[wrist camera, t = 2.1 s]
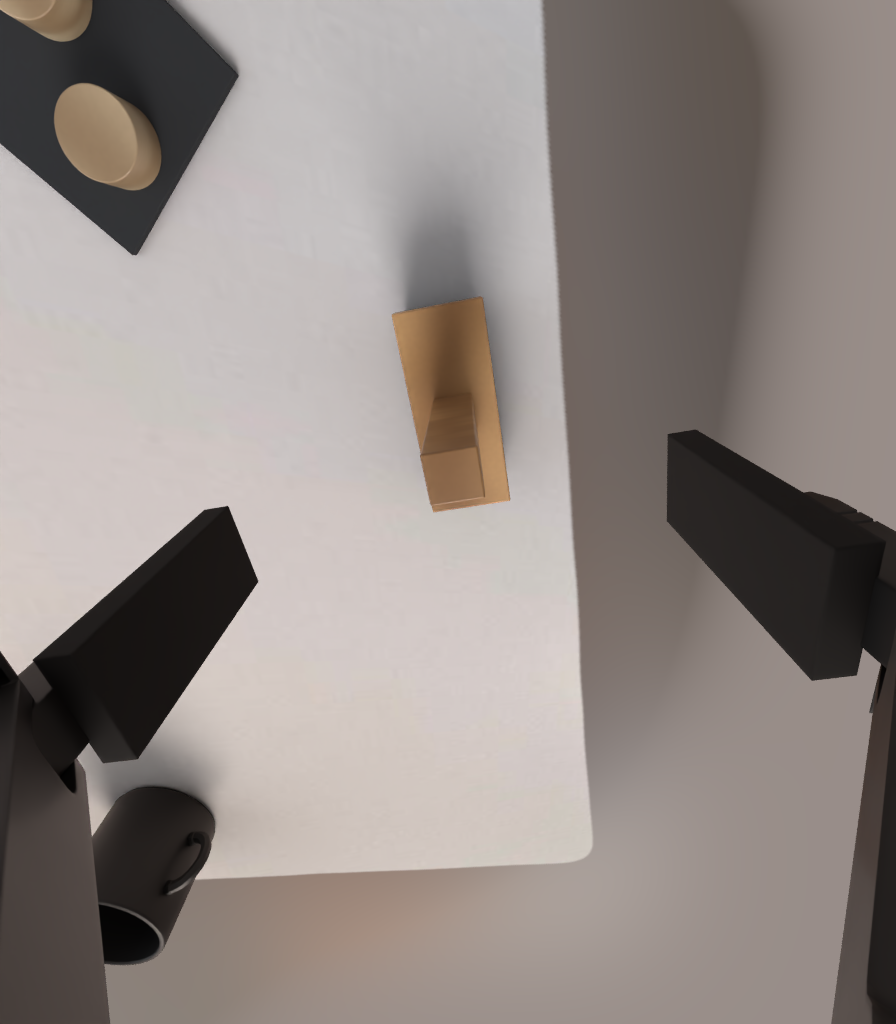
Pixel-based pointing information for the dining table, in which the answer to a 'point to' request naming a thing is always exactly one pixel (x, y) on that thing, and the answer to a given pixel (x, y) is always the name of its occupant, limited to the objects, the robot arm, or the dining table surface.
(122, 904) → the mug
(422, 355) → the wooden t-shaped block
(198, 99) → the mat
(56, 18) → the disc
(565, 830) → the dining table surface
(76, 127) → the disc
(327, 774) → the dining table surface
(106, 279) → the dining table surface
